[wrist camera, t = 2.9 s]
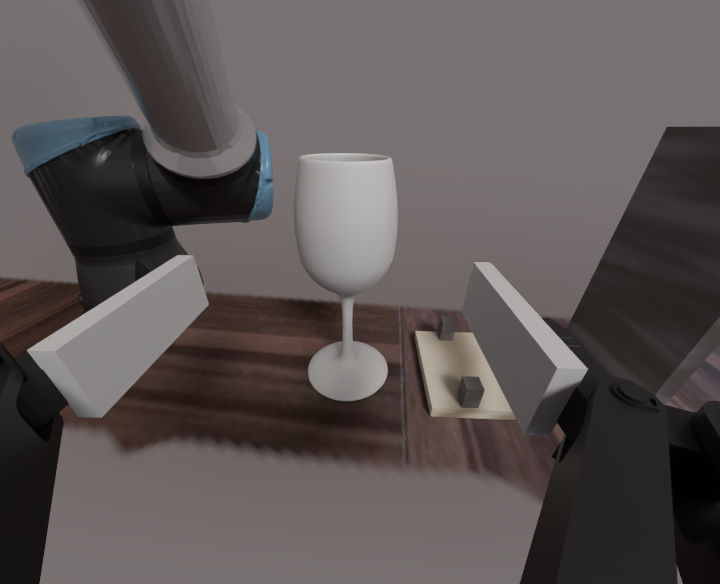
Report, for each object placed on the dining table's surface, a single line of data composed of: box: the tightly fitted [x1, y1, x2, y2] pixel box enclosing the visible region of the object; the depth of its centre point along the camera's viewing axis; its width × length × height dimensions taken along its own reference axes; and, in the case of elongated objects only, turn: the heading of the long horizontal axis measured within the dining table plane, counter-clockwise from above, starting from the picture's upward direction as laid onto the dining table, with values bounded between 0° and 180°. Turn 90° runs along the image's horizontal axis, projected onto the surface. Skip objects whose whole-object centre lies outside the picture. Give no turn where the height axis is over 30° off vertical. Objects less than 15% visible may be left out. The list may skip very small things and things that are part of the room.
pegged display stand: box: [414, 127, 720, 420], centre depth 24 cm, size 20×11×23 cm, turn 88°
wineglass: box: [294, 153, 398, 401], centre depth 25 cm, size 9×9×21 cm
